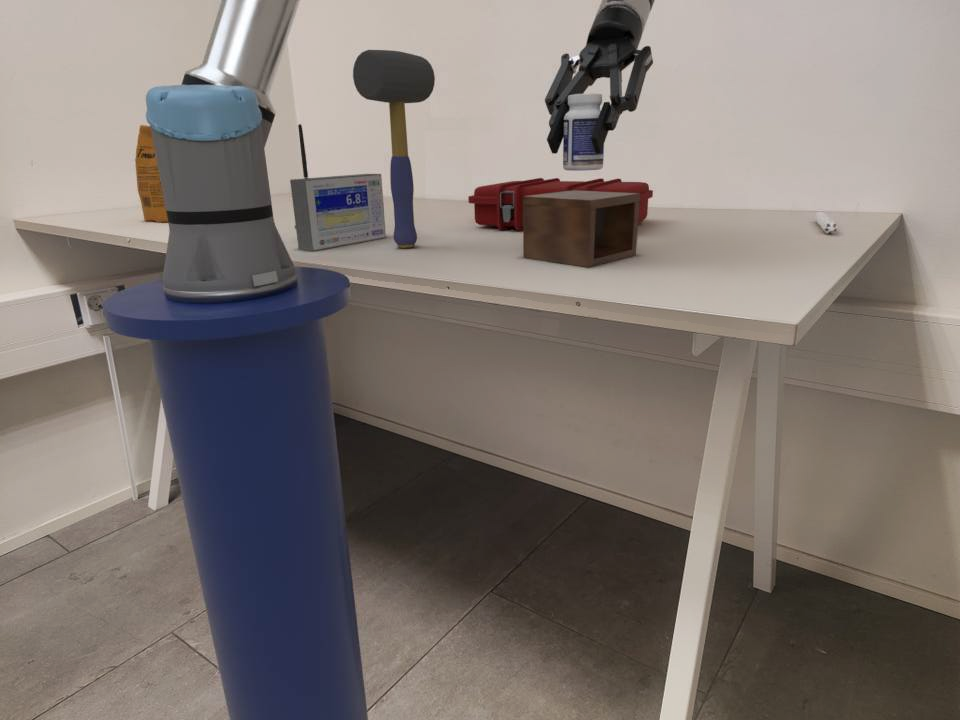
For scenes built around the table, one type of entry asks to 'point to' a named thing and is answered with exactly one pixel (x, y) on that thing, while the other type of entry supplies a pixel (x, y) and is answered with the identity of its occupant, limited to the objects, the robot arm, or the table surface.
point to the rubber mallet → (396, 120)
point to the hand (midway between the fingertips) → (573, 145)
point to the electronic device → (336, 208)
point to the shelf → (580, 227)
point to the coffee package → (149, 178)
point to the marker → (825, 222)
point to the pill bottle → (581, 133)
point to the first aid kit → (506, 198)
